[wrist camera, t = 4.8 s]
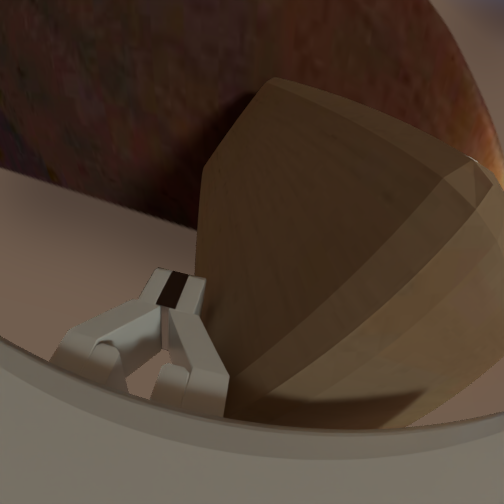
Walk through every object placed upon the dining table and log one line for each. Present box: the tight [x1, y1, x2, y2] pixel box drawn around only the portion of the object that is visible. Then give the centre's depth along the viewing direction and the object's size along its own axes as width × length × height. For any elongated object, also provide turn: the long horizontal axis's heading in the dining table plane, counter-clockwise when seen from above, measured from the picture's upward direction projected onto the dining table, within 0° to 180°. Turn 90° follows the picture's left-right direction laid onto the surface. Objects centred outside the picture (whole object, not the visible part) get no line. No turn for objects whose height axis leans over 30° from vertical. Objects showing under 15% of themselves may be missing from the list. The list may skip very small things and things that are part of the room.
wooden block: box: [195, 77, 504, 429], centre depth 15 cm, size 10×10×20 cm
